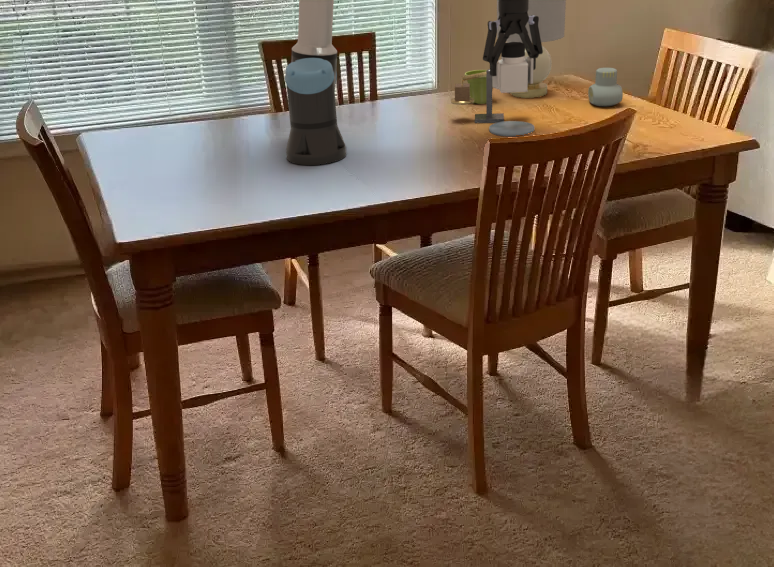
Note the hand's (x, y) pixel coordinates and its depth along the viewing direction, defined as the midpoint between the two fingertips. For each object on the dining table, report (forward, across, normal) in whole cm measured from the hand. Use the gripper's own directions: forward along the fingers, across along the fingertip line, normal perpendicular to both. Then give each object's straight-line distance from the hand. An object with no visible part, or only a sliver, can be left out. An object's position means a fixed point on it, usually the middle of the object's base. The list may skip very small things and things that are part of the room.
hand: (512, 85), depth 225 cm
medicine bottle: (+1, 0, 0) cm, 1 cm away
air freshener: (+12, +36, +8) cm, 39 cm away
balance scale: (+12, 0, +12) cm, 17 cm away
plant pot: (+12, +8, +31) cm, 34 cm away
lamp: (+12, +25, +31) cm, 42 cm away
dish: (+12, 0, 0) cm, 12 cm away
